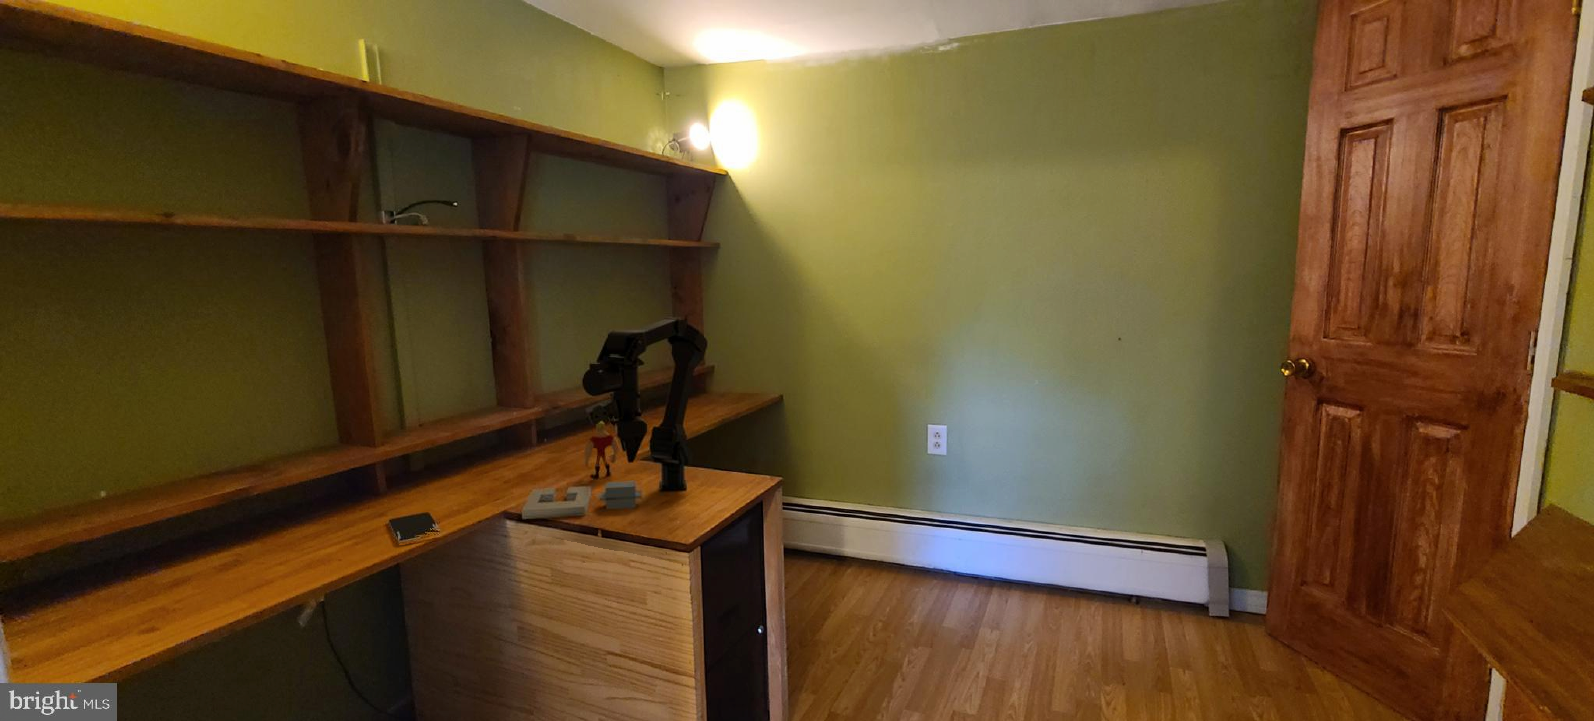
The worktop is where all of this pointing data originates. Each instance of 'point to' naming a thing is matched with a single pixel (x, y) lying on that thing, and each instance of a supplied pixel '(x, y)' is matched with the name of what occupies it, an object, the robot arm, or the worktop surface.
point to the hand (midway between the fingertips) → (627, 456)
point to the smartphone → (413, 526)
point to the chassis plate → (556, 503)
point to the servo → (620, 495)
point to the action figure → (601, 448)
